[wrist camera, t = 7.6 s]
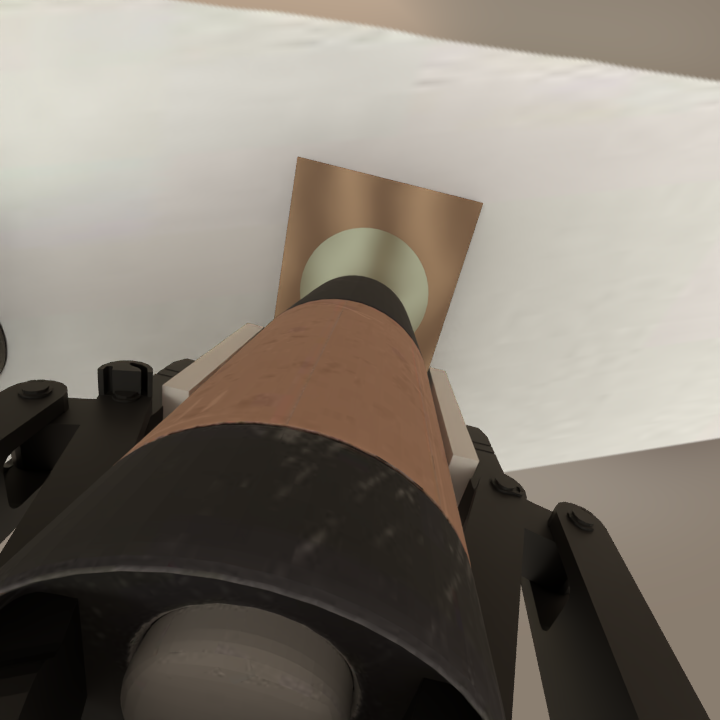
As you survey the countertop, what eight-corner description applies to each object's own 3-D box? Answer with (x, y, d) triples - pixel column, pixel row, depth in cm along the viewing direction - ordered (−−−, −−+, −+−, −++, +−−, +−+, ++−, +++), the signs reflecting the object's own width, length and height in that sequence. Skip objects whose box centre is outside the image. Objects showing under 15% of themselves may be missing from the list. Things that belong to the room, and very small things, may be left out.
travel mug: (438, 311, 22) (684, 762, 4) (373, 403, 25) (330, 933, 6) (331, 245, 21) (-46, 408, 3) (276, 347, 24) (-108, 783, 5)
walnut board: (270, 365, 39) (266, 371, 37) (301, 159, 31) (297, 156, 30) (415, 399, 39) (416, 407, 37) (478, 204, 32) (483, 203, 30)
